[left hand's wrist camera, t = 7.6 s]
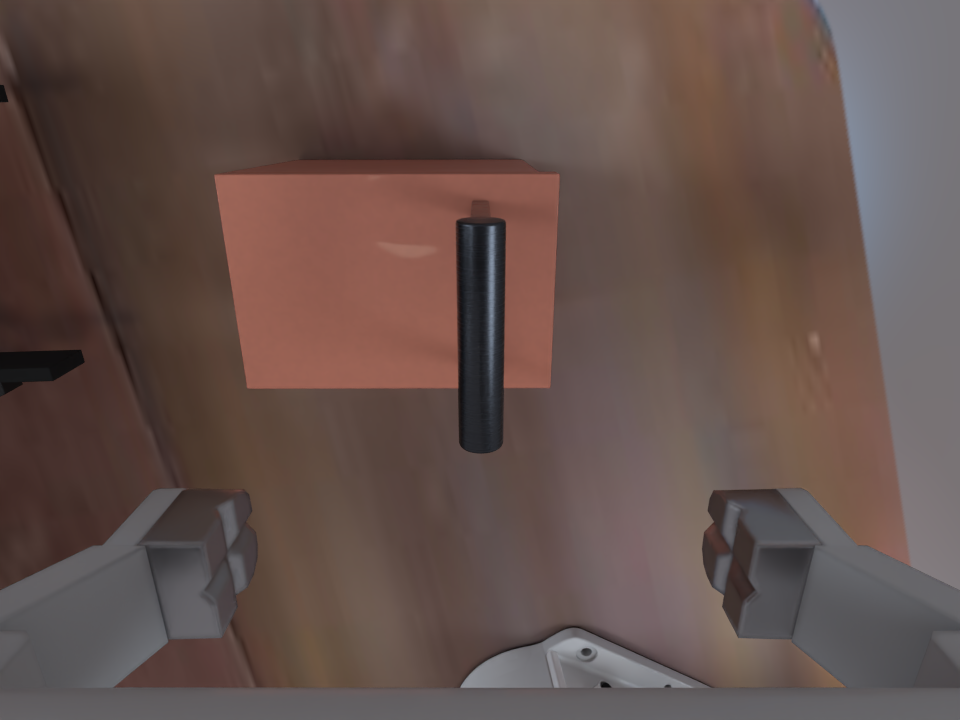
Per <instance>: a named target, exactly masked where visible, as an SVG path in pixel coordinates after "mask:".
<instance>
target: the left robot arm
mask: <svg viewBox="0 0 960 720" xmlns="http://www.w3.org/2000/svg"><path fill="white" fill-rule="evenodd" d="M251 512H252V507H251V502H250V497H249V494H248V493H247V492H246V491H245V490H243V489H194V488H189V489H186V488H160V489H156V490H153V491H152V492H151V493H150V494H149V495H148V496H147V498H146V499H145V500H144V501H143V502H142V503H141V504H140V505H139V506H138V507H137V508H136V510H135V511H134V512H133V513H132V514H131V515H130V516H129V517H128V518H127V519H126V520H125V522H124V523H123V524H122V525H121V526H120V527H119V528H118V529H117V530H116V531H115V532H114V534H113V535H112V536H111V537H110V538H109V539H108V540H107V541H106V542H105V543H104V544H103V546H91V547H89V548H87V549H85V550H83V551H81V552H79V553H77V554H75V555H72V556H70V557H68V558H66V559H64V560H62V561H60V562H58V563H56V564H54V565H52V566H50V567H47V568H45V569H43V570H41V571H39V572H37V573H35V574H33V575H31V576H29V577H27V578H25V579H23V580H20V581H18V582H16V583H14V584H12V585H10V586H8V587H6V588H4V589H2V590H0V720H960V590H958V589H956V588H954V587H952V586H950V585H948V584H946V583H943V582H941V581H939V580H937V579H935V578H933V577H931V576H929V575H927V574H925V573H923V572H921V571H919V570H916V569H914V568H912V567H910V566H908V565H906V564H904V563H902V562H900V561H898V560H896V559H894V558H892V557H890V556H887V555H885V554H883V553H881V552H879V551H877V550H875V549H873V548H871V547H869V546H857V544H856V543H855V542H854V541H853V540H852V539H851V538H850V537H849V536H848V535H847V534H846V532H845V531H844V530H843V529H842V528H841V527H840V526H839V525H838V524H837V523H836V522H835V520H834V519H833V518H832V517H831V516H830V515H829V514H828V513H827V512H826V511H825V510H824V508H823V507H822V506H821V505H820V504H819V503H818V502H817V501H816V500H815V499H814V498H813V496H812V495H811V494H810V493H809V492H808V491H806V490H804V489H802V488H781V489H757V490H714V491H713V493H712V495H711V497H710V500H709V506H708V512H709V514H710V516H711V517H712V519H713V521H714V523H713V524H712V525H711V526H710V527H709V528H708V529H707V530H706V531H705V532H704V538H703V546H702V552H703V564H704V568H705V571H706V574H707V577H708V579H709V581H710V583H711V585H712V587H713V588H714V589H716V590H717V591H719V592H720V593H722V594H723V595H724V600H723V606H722V607H723V609H724V611H725V613H726V615H727V617H728V619H729V621H730V623H731V625H732V626H733V628H734V630H735V632H736V634H737V636H738V638H761V639H792V643H794V644H795V645H796V646H797V647H798V648H800V649H801V650H802V651H803V652H805V653H806V654H807V655H808V656H809V657H811V658H812V659H813V660H814V661H816V662H817V663H818V664H819V665H820V666H822V667H823V668H824V669H825V670H827V671H828V672H829V673H830V674H831V675H833V676H834V677H835V678H836V679H837V680H839V681H840V682H841V683H842V684H844V685H845V686H846V687H847V688H711V687H709V686H707V685H705V684H703V683H701V682H698V681H696V680H694V679H692V678H689V677H687V676H685V675H683V674H681V673H678V672H676V671H674V670H672V669H669V668H667V667H665V666H663V665H661V664H658V663H656V662H654V661H652V660H649V659H647V658H645V657H643V656H641V655H638V654H636V653H634V652H632V651H629V650H627V649H625V648H623V647H620V646H618V645H616V644H614V643H612V642H609V641H607V640H605V639H603V638H600V637H598V636H596V635H594V634H592V633H589V632H587V631H585V630H583V629H580V628H568V629H565V630H562V631H560V632H558V633H556V634H555V635H553V636H551V637H550V638H548V639H546V640H545V641H543V642H541V643H538V644H535V645H531V646H526V647H521V648H517V649H513V650H510V651H507V652H504V653H501V654H499V655H496V656H494V657H492V658H490V659H489V660H487V661H485V662H484V663H482V664H481V665H479V666H478V667H477V668H476V669H475V670H473V671H472V672H471V673H470V674H469V675H468V677H467V678H466V679H465V680H464V682H463V683H462V685H461V687H460V688H113V687H114V686H115V685H117V684H118V683H119V682H120V681H122V680H123V679H124V678H125V677H126V676H128V675H129V674H130V673H131V672H132V671H134V670H135V669H136V668H137V667H139V666H140V665H141V664H142V663H143V662H145V661H146V660H147V659H148V658H150V657H151V656H152V655H153V654H154V653H156V652H157V651H158V650H159V649H161V648H162V647H163V646H164V645H165V644H167V643H168V639H198V638H222V636H223V634H224V632H225V630H226V628H227V627H228V625H229V623H230V621H231V619H232V617H233V615H234V613H235V611H236V609H237V607H238V606H237V600H236V595H237V594H238V593H240V592H241V591H243V590H244V589H246V588H247V587H248V585H249V583H250V581H251V579H252V577H253V575H254V571H255V566H256V562H257V551H258V544H257V537H256V532H255V531H254V530H253V529H252V528H251V527H250V526H249V525H248V524H247V523H246V521H247V519H248V517H249V516H250V514H251ZM584 648H586V649H584Z"/></svg>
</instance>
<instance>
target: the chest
mask: <svg viewBox="0 0 960 720" xmlns="http://www.w3.org/2000/svg"><path fill="white" fill-rule="evenodd" d="M232 172H538V171H537V170H536V169H534V168H533V167H531V166H530V165H529V164H527V163H526V162H524V161H523V160H296V161H289V162H283V163H278V164H272V165H266V166H260V167H255V168H249V169H243V170H237V171H232Z"/></svg>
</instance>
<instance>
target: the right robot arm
mask: <svg viewBox="0 0 960 720" xmlns="http://www.w3.org/2000/svg"><path fill="white" fill-rule="evenodd" d="M0 102H8V99H7V95H6V92H5V88H4V85H0ZM84 362H85V361H84V358H83V355H82V351H81V350H60V351H29V352H0V396H2V395H4V394H6V393H8V392H10V391H12V390H13V389H15V388H17V387H19V386H20V385H22V384H23V383H22V382H34V381H54V380H55V379H57V378H59V377H61V376H62V375H64V374H66V373H67V372H69V371H71V370H72V369H74V368H76V367H77V366H79V365H81V364H83V363H84Z"/></svg>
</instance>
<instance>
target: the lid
mask: <svg viewBox="0 0 960 720" xmlns="http://www.w3.org/2000/svg"><path fill="white" fill-rule="evenodd" d="M215 183H216V189H217V196H218V202H219V209H220V215H221V221H222V228H223V234H224V241H225V247H226V254H227V260H228V267H229V273H230V279H231V286H232V292H233V299H234V305H235V312H236V318H237V325H238V331H239V338H240V344H241V350H242V357H243V363H244V370H245V376H246V383H247V388H248V389H307V388H458V406H459V444H460V446H461V447H462V448H463V449H464V450H466V451H469V452H472V453H490V452H493V451H496V450H498V449H499V448H500V447H501V446H502V444H503V411H504V388H550V385H551V362H552V340H553V318H554V295H555V273H556V251H557V228H558V206H559V184H560V174H558V173H557V172H226V173H220V174H215Z"/></svg>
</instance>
